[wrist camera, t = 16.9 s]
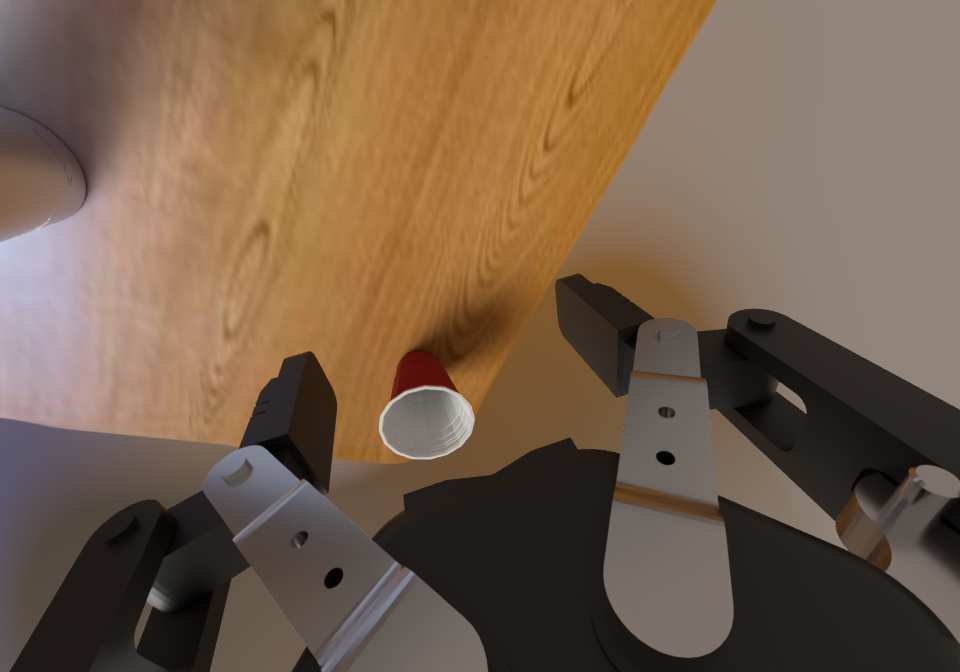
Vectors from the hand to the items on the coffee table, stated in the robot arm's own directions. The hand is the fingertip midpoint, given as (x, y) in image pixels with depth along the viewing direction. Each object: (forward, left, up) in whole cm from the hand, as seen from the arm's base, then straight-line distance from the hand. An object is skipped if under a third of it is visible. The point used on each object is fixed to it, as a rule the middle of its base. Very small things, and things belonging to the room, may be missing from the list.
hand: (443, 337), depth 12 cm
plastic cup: (-4, -24, -33) cm, 41 cm away
